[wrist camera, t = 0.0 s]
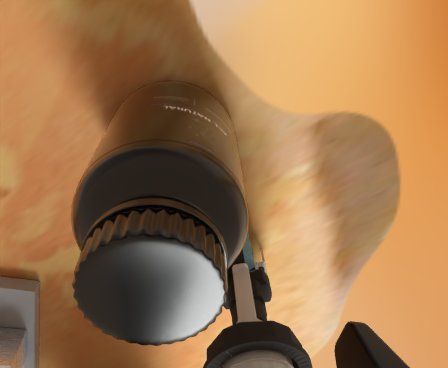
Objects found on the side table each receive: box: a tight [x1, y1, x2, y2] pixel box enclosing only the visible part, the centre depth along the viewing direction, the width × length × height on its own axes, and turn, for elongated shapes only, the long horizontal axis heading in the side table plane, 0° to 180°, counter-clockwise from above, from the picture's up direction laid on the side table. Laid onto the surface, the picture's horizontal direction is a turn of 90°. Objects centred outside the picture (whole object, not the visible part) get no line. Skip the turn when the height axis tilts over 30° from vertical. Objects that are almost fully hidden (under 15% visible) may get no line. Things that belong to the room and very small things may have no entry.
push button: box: [203, 231, 312, 368], centre depth 23 cm, size 7×5×10 cm
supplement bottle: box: [71, 81, 248, 346], centre depth 18 cm, size 7×7×12 cm
